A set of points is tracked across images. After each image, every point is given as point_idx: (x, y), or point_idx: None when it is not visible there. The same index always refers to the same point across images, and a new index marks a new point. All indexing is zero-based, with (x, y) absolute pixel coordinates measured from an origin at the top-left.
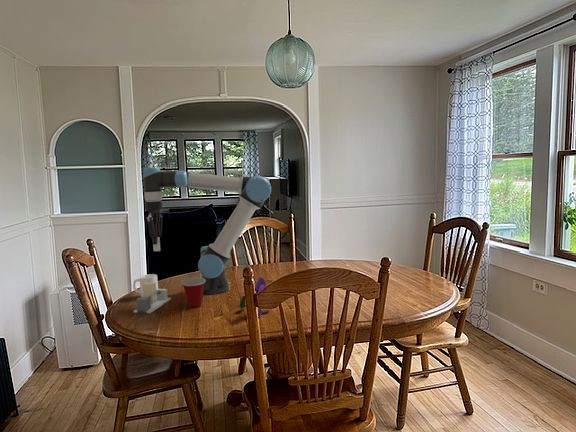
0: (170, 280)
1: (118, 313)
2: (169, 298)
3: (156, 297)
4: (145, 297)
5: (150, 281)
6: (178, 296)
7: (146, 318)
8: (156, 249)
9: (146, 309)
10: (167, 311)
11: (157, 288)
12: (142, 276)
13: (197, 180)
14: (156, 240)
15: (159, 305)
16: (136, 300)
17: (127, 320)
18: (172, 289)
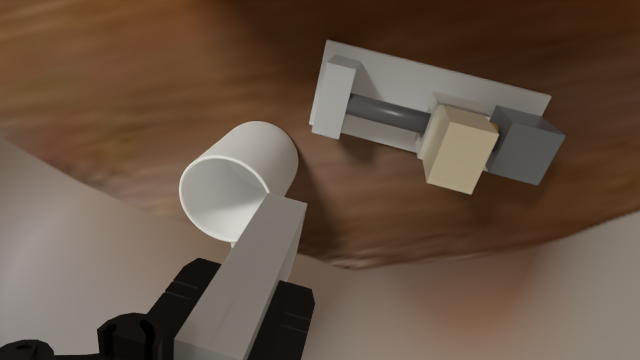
0: (12, 113)
1: (496, 229)
2: (339, 43)
3: (439, 97)
4: (516, 146)
5: (272, 174)
6: (279, 5)
7: (636, 94)
8: (296, 242)
9: (543, 118)
10: (554, 5)
11: (249, 130)
12: (212, 230)
13: None
14: (277, 334)
15: (453, 71)
16: (535, 182)
17: (624, 175)
18: (155, 69)
